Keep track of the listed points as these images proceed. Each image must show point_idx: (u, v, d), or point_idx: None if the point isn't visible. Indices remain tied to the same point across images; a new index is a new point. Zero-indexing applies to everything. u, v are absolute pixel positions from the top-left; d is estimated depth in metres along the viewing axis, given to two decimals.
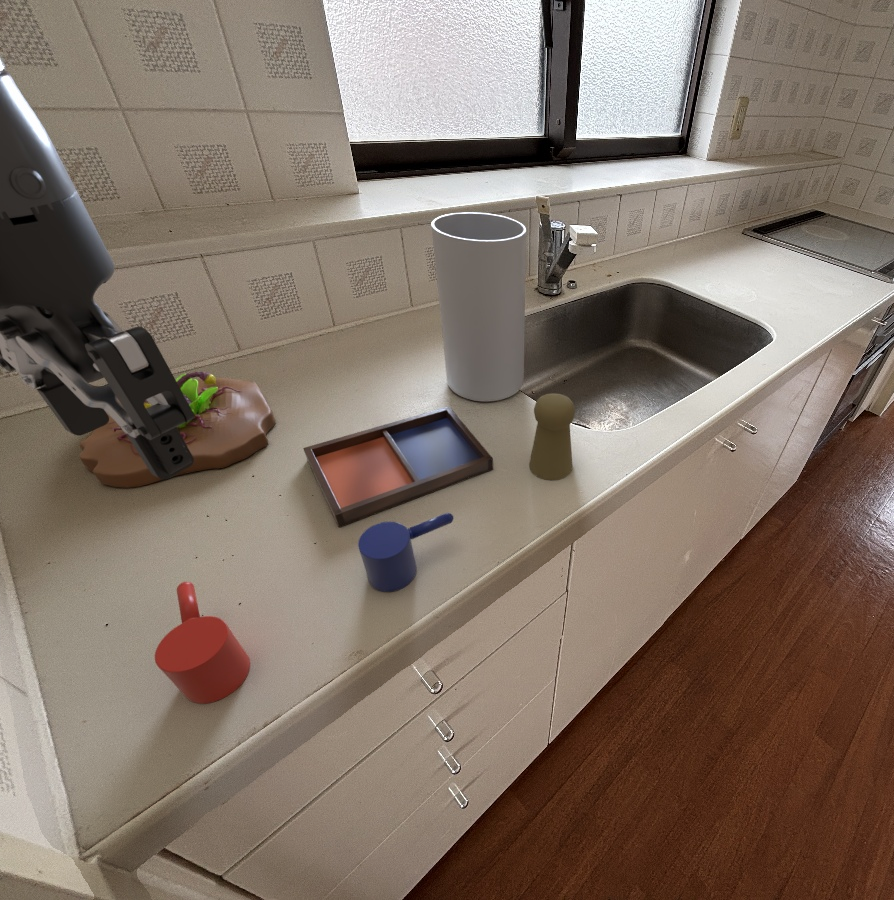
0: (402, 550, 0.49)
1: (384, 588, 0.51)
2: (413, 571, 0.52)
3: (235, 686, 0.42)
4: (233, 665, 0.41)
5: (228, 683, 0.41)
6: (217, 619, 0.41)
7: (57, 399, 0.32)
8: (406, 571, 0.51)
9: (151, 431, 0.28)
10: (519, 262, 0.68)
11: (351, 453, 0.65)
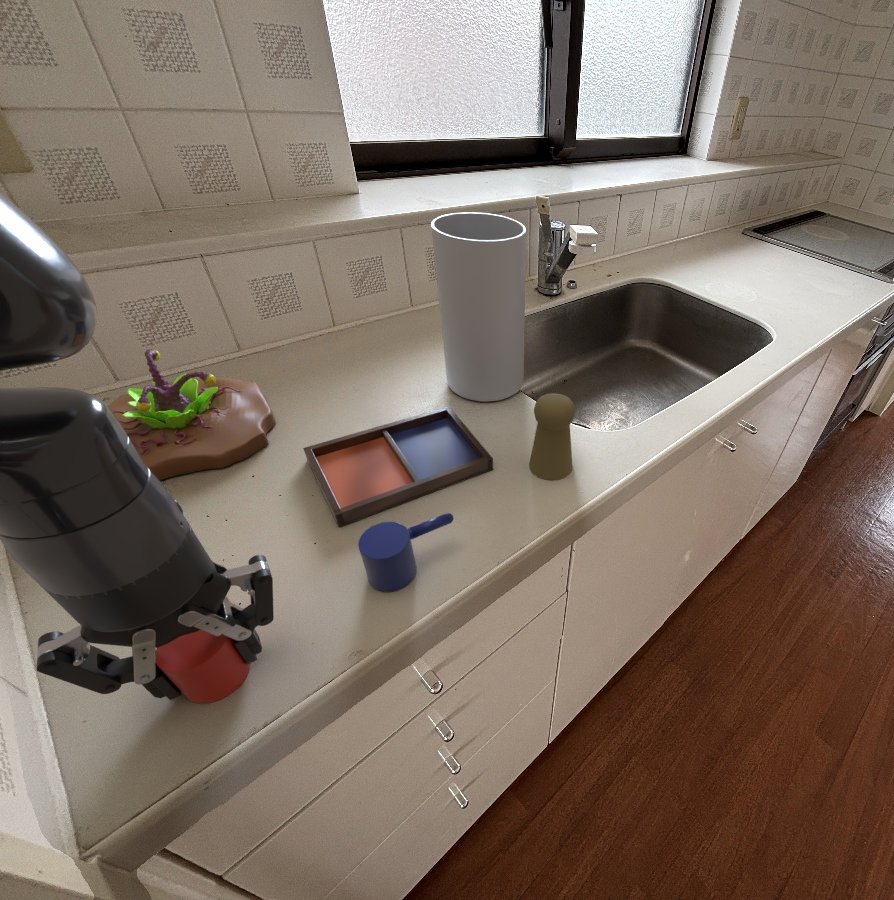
0: (402, 550, 0.49)
1: (384, 588, 0.51)
2: (413, 571, 0.52)
3: (235, 686, 0.42)
4: (233, 665, 0.41)
5: (228, 683, 0.41)
6: None
7: (165, 676, 0.39)
8: (406, 571, 0.51)
9: (271, 615, 0.42)
10: (518, 262, 0.68)
11: (351, 453, 0.65)
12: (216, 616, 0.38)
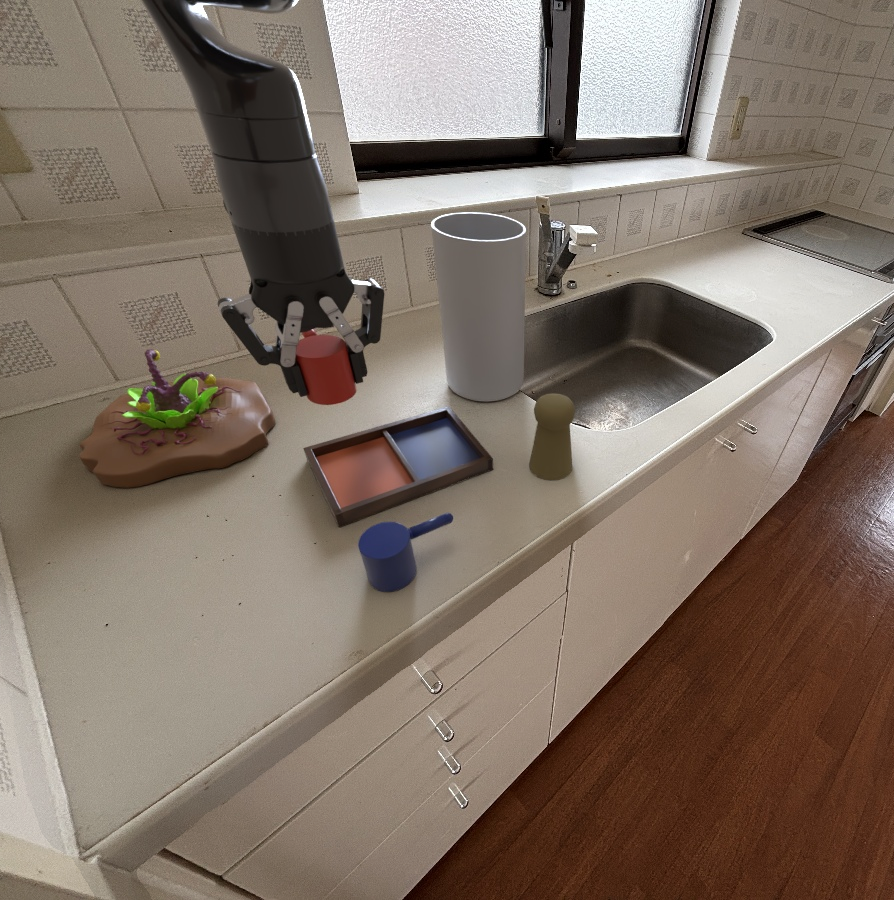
0: (402, 550, 0.49)
1: (384, 588, 0.51)
2: (413, 571, 0.52)
3: (348, 396, 0.52)
4: (348, 374, 0.51)
5: (344, 389, 0.51)
6: (335, 336, 0.51)
7: (299, 370, 0.49)
8: (406, 571, 0.51)
9: (379, 335, 0.51)
10: (518, 262, 0.68)
11: (351, 453, 0.65)
12: None
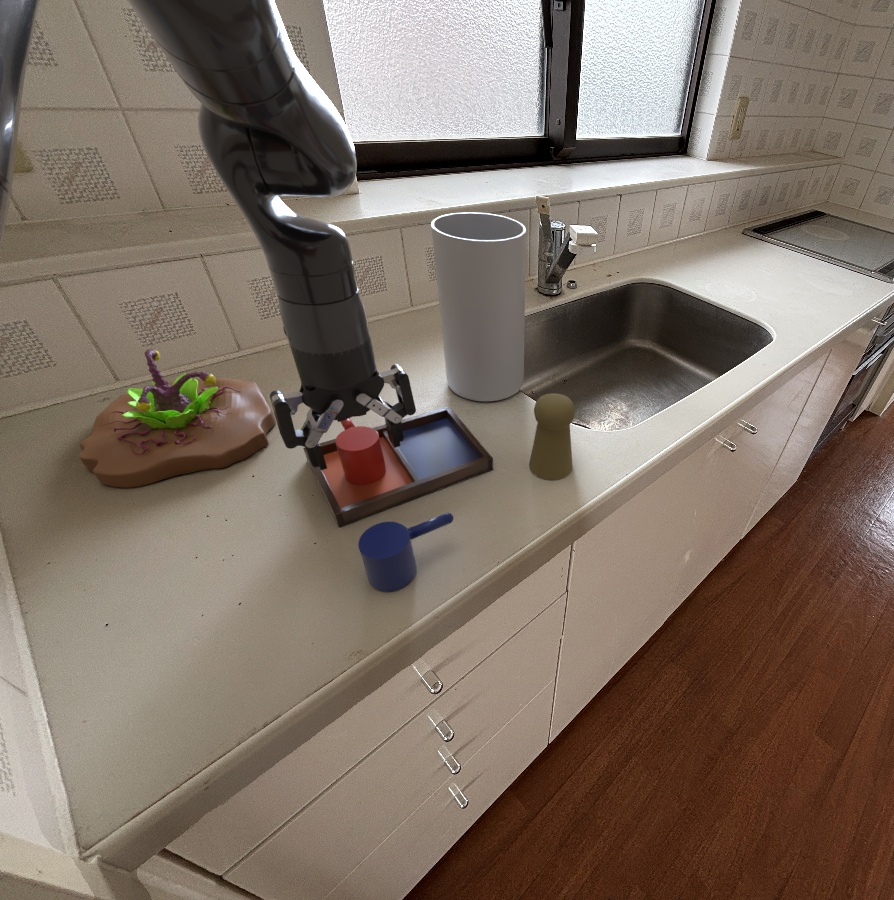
0: (402, 550, 0.49)
1: (384, 588, 0.51)
2: (413, 571, 0.52)
3: (380, 476, 0.62)
4: (380, 459, 0.61)
5: (377, 472, 0.61)
6: (369, 428, 0.61)
7: (320, 448, 0.56)
8: (406, 571, 0.51)
9: (415, 408, 0.61)
10: (518, 262, 0.68)
11: None
12: (377, 401, 0.57)
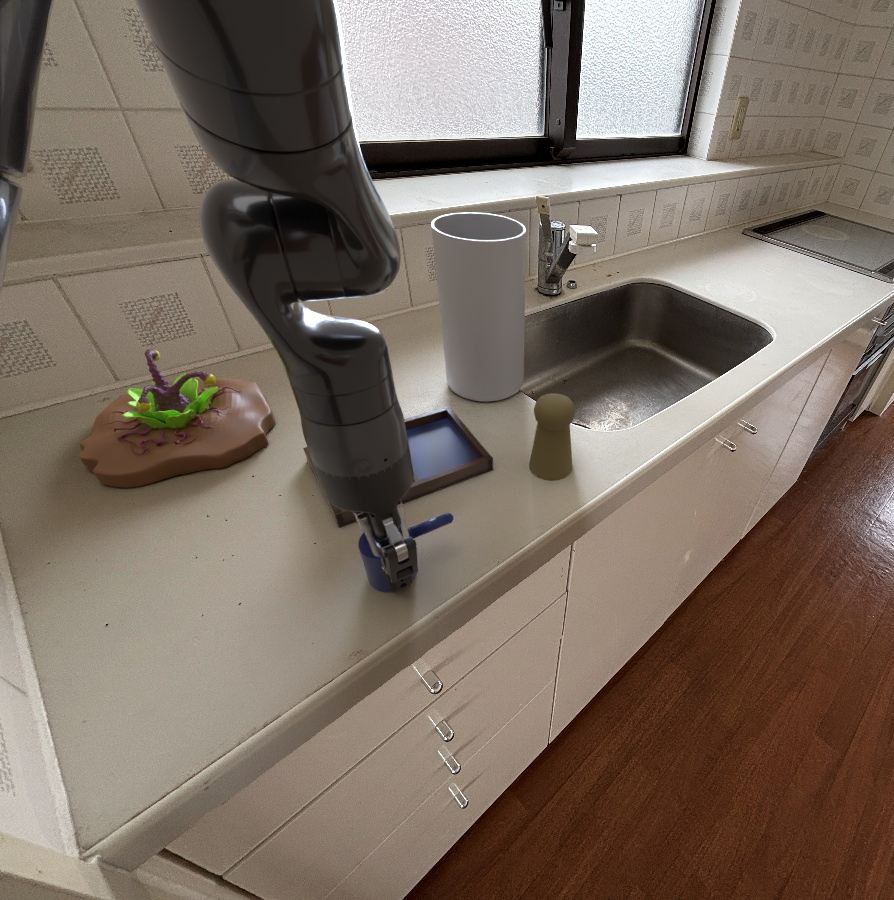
0: None
1: (384, 589, 0.51)
2: None
3: None
4: None
5: None
6: None
7: None
8: None
9: None
10: (518, 262, 0.68)
11: None
12: None
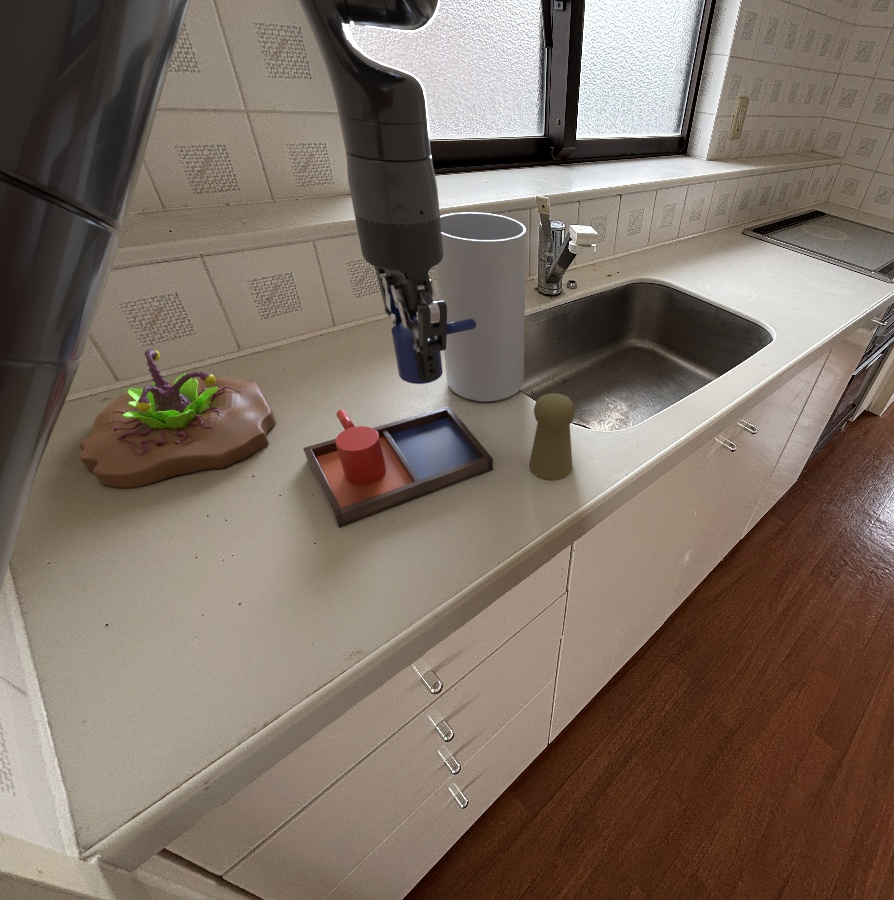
0: None
1: (414, 379, 0.55)
2: (440, 369, 0.57)
3: (380, 476, 0.62)
4: (380, 459, 0.61)
5: (377, 472, 0.61)
6: (369, 428, 0.61)
7: None
8: None
9: None
10: (518, 262, 0.68)
11: None
12: None
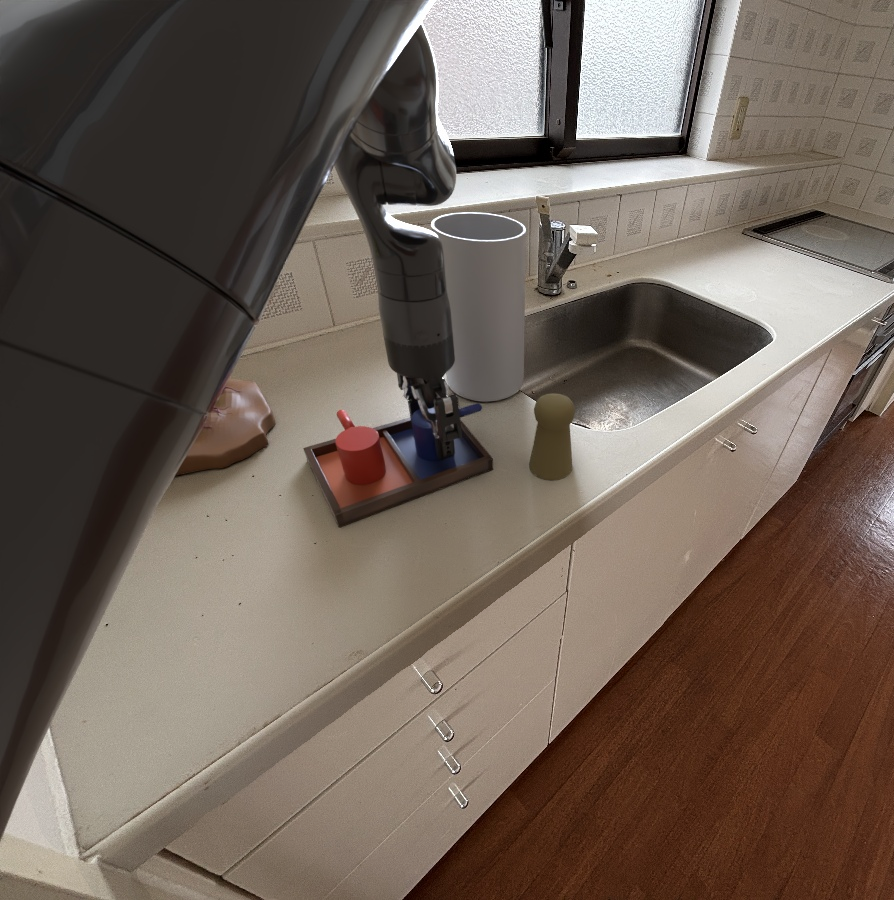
0: None
1: (430, 457, 0.65)
2: None
3: (380, 476, 0.62)
4: (380, 459, 0.61)
5: (377, 472, 0.61)
6: (369, 428, 0.61)
7: None
8: None
9: None
10: (518, 262, 0.68)
11: None
12: None
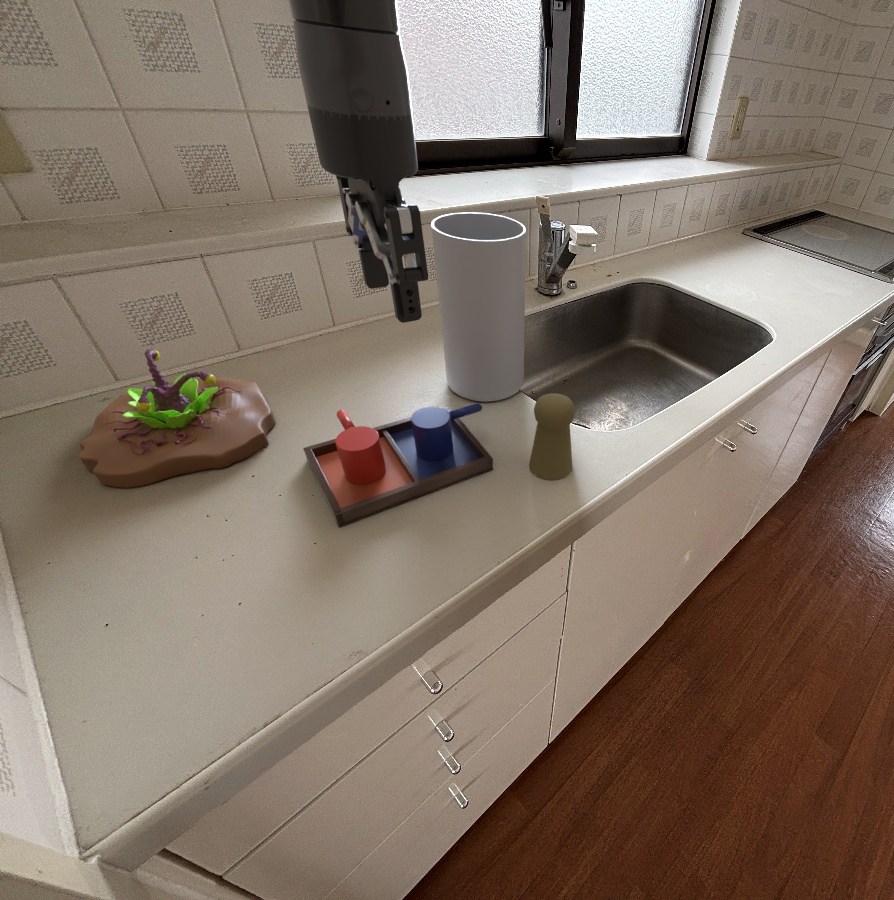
0: (445, 424, 0.63)
1: (430, 457, 0.65)
2: (451, 447, 0.67)
3: (380, 476, 0.62)
4: (380, 459, 0.61)
5: (377, 472, 0.61)
6: (369, 428, 0.61)
7: None
8: (447, 444, 0.65)
9: None
10: (518, 262, 0.68)
11: None
12: None
